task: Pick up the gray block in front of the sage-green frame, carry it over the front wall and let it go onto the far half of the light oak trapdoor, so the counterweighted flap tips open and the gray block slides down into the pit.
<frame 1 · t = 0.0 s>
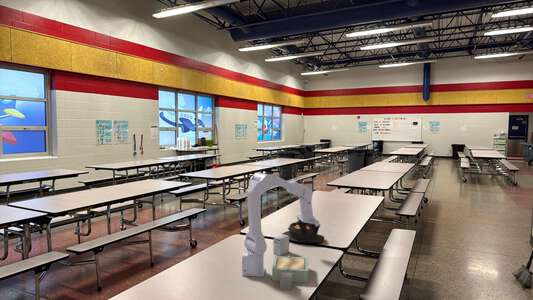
hand: (309, 236, 160), 11 cm above the table, tool pointing down, fingers open, 7 cm apart
gray block: (285, 287, 131), on the table
trapdoor: (290, 266, 142), point 4 cm above the table, hinge at 0.0°
trapdoor frame: (290, 274, 142), on the table
casserole: (302, 239, 187), on the table
medicine box: (281, 253, 166), on the table
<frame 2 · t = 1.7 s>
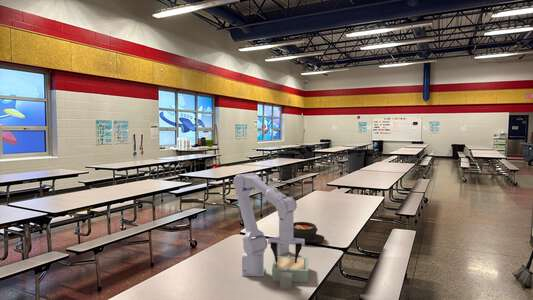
hand: (286, 261, 130), 10 cm above the table, tool pointing down, fingers open, 7 cm apart
nothing on the table moved.
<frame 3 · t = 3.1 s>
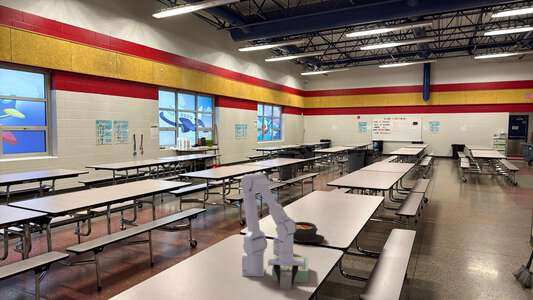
hand: (285, 283, 130), 1 cm above the table, tool pointing down, fingers closed on gray block, 4 cm apart
gray block: (285, 286, 131), on the table, touching gripper
everything else where it was.
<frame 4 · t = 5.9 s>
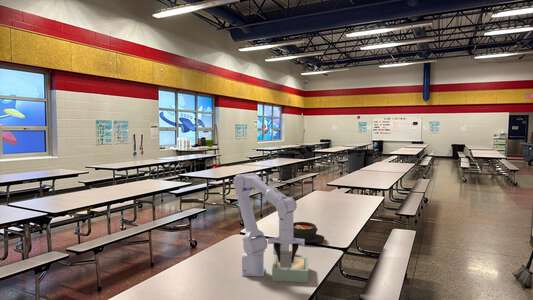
hand: (286, 261, 130), 10 cm above the table, tool pointing down, fingers closed on gray block, 4 cm apart
gray block: (286, 265, 130), point 9 cm above the table, touching gripper
everything else where it was.
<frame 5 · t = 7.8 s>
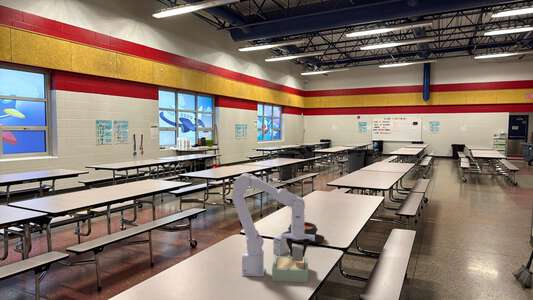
hand: (297, 255, 141), 8 cm above the table, tool pointing down, fingers closed on gray block, 4 cm apart
gray block: (297, 259, 141), point 7 cm above the table, touching gripper
everything else where it was.
when the fingers open (8 cm above the table, at t = 8.5 s): gray block drops 4 cm and tips over, resting on trapdoor, trapdoor frame.
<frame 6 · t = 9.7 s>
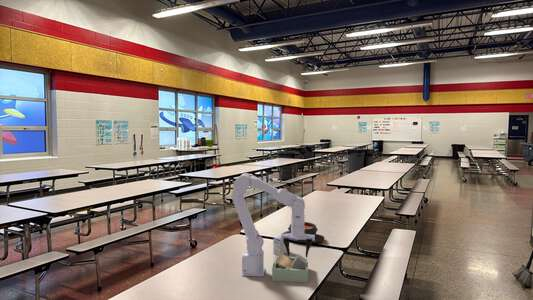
hand: (297, 255, 141), 8 cm above the table, tool pointing down, fingers open, 7 cm apart
gray block: (296, 268, 141), point 3 cm above the table, tilted 32°, touching trapdoor, trapdoor frame
trapdoor: (288, 266, 142), point 3 cm above the table, hinge at -32.0°, touching gray block
everything else where it was.
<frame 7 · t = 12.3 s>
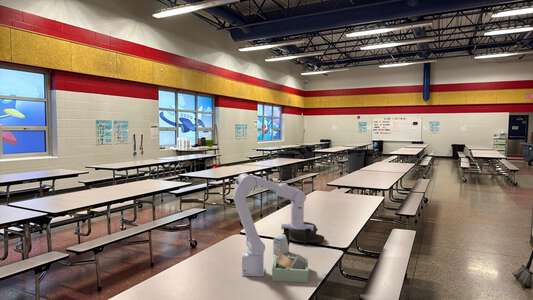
hand: (297, 244, 149), 10 cm above the table, tool pointing down, fingers open, 7 cm apart
nothing on the table moved.
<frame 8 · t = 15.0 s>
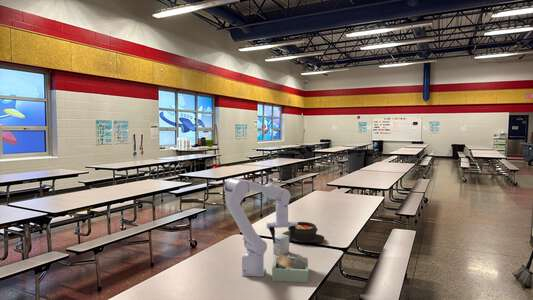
hand: (282, 242, 152), 10 cm above the table, tool pointing down, fingers open, 7 cm apart
nothing on the table moved.
at the end: trapdoor at -32° (first picture: +0°); gray block inside the target area (1.9 cm from its centre), point 2.9 cm above the table; the gripper is holding nothing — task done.
